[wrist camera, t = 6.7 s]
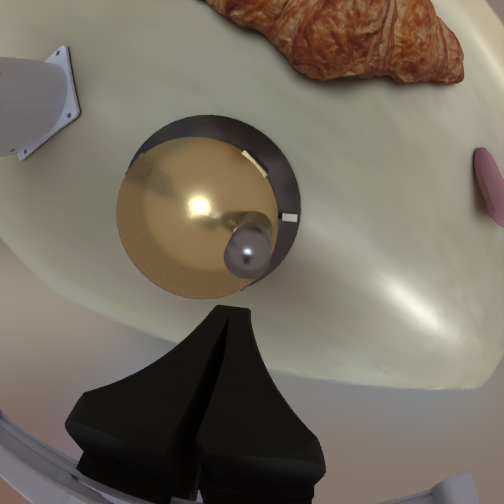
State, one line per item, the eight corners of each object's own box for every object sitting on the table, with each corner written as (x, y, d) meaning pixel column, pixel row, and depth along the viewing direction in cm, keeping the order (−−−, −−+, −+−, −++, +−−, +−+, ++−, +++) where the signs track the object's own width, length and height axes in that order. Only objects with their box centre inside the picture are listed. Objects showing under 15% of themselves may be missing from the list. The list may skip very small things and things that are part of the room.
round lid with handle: (144, 271, 21) (100, 323, 14) (134, 140, 17) (69, 149, 10) (272, 282, 20) (269, 348, 14) (282, 138, 16) (285, 138, 10)
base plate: (165, 297, 23) (160, 306, 22) (109, 155, 19) (99, 157, 17) (316, 264, 21) (318, 273, 20) (270, 92, 16) (269, 89, 15)
